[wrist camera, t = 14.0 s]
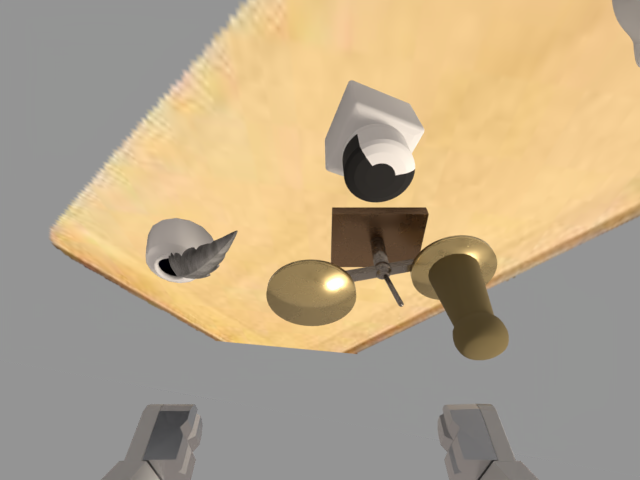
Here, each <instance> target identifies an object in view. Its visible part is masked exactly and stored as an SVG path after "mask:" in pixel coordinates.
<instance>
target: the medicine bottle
mask: <svg viewBox="0 0 640 480" xmlns="http://www.w3.org/2000/svg"><path fill="white" fill-rule="evenodd" d="M423 133H424V128H423V126H422V124H421V122H420V121H419V119H418V117H417V115H416V114H415V112H414V110H413V108H412V107H411V105H410V104H409V103H407V102H404V101H402V100H399V99H397V98H394V97H392V96H390V95H387V94H385V93H382V92H380V91H377V90H375V89H373V88H370V87H368V86H365V85H363V84H360V83H358V82H356V81H353V80H351V81H349V82H348V84H347V87H346V89H345V92H344V94H343V96H342V99H341V101H340V104H339V106H338V109H337V111H336V114H335V116H334V118H333V121H332V123H331V126H330V128H329V131H328V133H327V135H326V138H325V168H326V170H327V171H329V172H332V173H335V174H338V175H341V176H344V180H345V184H346V186H347V188H348V189H349V191H350V192H351V193H352V194H353V195H354V196H356V197H357V198H359V199H361V200H364V201H367V202H375V203H377V202H385V201H388V200H391V199H394V198H396V197H397V196H399V195H400V194H402V193H403V192H404V191H405V190H406V189H407V188H408V186H409V185H410V183H411V182H412V180H413V177H414V174H415V162H414V158H413V156H412V152H413V151H414V149H415V147H416V145H417V144H418V142H419V140H420V139H421V137H422V135H423Z"/></svg>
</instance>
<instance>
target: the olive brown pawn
mask: <svg viewBox="0 0 640 480" xmlns="http://www.w3.org/2000/svg"><path fill="white" fill-rule="evenodd" d="M428 277H429V281H430V283H431V285H432V287H433V289H434V291H435V292H436V294H437V296H438V298H439V300H440V302H441V304H442V306H443V307H444V309H445V311H446V313H447V315H448V317H449V319H450V320H451V322H452V324H453V326H454V329H453V331H452V332H453V341H454V344H455V347H456V348H457V350H458V351H459V352H460V353H461V354H462V355H463V356H464V357H466V358H468V359H472V360H487V359H491V358H494V357H496V356H498V355H500V354H501V353H502V352H503V351H505V350H506V348H507V346H508V343H509V334H508V330H507V328H506V326H505V325H504V323H503V322H502V321H501V320H500V319H499V318H498V317H496V316H495V315H494V313H493V310H492V306H491V303H490V299H489V296H488V292H487V289H486V285H485V282H484V278H483V275H482V272H481V268H480V265H479V263H478V261H477V259H475V258H474V257H472V256H471V255H467V254H452V255H448V256H445V257H443V258H441V259H439V260H438V261H437V262H435V263H434V264H433V265H432V267H431V268H430V270H429V274H428Z"/></svg>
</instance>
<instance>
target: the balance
mask: <svg viewBox="0 0 640 480" xmlns="http://www.w3.org/2000/svg"><path fill="white" fill-rule="evenodd" d="M428 216H429V213H428V211H427V208H426V207H332V232H331V263H330V262H327V261H322V260H313V259H309V260H299V261H295V262H292V263H289V264H286V265H285V266H283V267H281V268H280V269H278V270H277V271H276V272H275V273H274V274H273V275H272V276H271V278H270V280H269V282H268V286H267V292H266V298H267V302H268V304H269V306H270V308H271V309H272V311H273V312H274V313H275V314H276V315H278V316H279V317H281V318H282V319H284V320H286V321H288V322H291V323H294V324H297V325H303V326H321V325H326V324H330V323H333V322H336V321H338V320H340V319H342V318H343V317H344V316H346V315H347V314H348V313H349V312H350V311H351V310H352V308H353V307H354V304H355V302H356V287H355V283H354V282H356V281H362V280H367V279H373V278H378V279H382V280H385V281H386V283H387V285H388V287H389V289H390V291H391V292H392V294H393V296H394V298H395V300H396V302H397V304H398V305H399V306H400V307H402V306H403V305H404V303H403V301H402V299H401V298H400V296H399V294H398V292H397V291H396V289H395V287H394V285H393V283H392V282H391V280H390V278H389V277H390V275H395V274H400V273H406V272H410V275H411V279H412V283H413V285H414V287H415V288H416V290H417V291H418V292H419V293H421V294H422V295H424V296H426V297H428V298H431V299H436V300H439V298H438V296H437V294H436V292H435V291H434V289H433V287H432V285H431V283H430V281H429V277H428V274H429V270H430V268H431V267H432V265H433V264H434V263H435V262H437V261H438V260H439V259H441V258H443V257H445V256H448V255H452V254H467V255H471V256H472V257H474V258H475V259H477V261H478V263H479V265H480V268H481V272H482V275H483V278H484V282H485V285H486V284H488V283H489V281H490V280H491V279H492V277H493V276H494V274H495V272H496V269H497V258H496V255H495V253H494V251H493V250H492V248H491V247H490V245H489V244H488V243H486V242H485V241H483V240H482V239H479V238H477V237H473V236H468V235H456V236H449V237H445V238H442V239H439V240H437V241H435V242H433V243H431V244H429V245H428V246H426V247H425V248H424V249H422V250H421V247H422V242H423V238H424V233H425V229H426V225H427V220H428ZM341 267H363V268H358V269H352V270H346V271H345V270H344V269H342V268H341Z"/></svg>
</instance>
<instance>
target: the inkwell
mask: <svg viewBox="0 0 640 480" xmlns="http://www.w3.org/2000/svg"><path fill="white" fill-rule="evenodd" d="M237 232H238V230H236V231H234V232H232V233H230V234H228V235H226V236H224V237H222V238H219V239H217V240H215V241H214V240H213V238H212V236H211V235H210V234H209V233H208V232H207V231H206V230H205V229H204V228H203V227H202V226H200V225H198V224H196V223H194V222H192V221H190V220H184V219H179V218H172V219H165V220H162V221H160V222H158V223H156V224H155V225H153V226H152V228H151V230H150V232H149V234H148V238H147V246H146V263H147V265H148V267H149V268H150V270H151V271H152V272H153V273H155V274H156V275H157V276H158V277H160V278H162V279H165V280H167V281H170V282H176V283H185V282H191V281H193V280H195V279H201V278H205V277H208V276H210V273H212V272H214V271H215V270H216V269H217V268H218V267H219V266H220V265H219V264H220V263H221V262H222V261H223V259H224V258H225V255H226V253H227V252H228V250H229V248H230V247H231V245H232V243H233V241H234V239H235V237H236V235H237Z"/></svg>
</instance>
